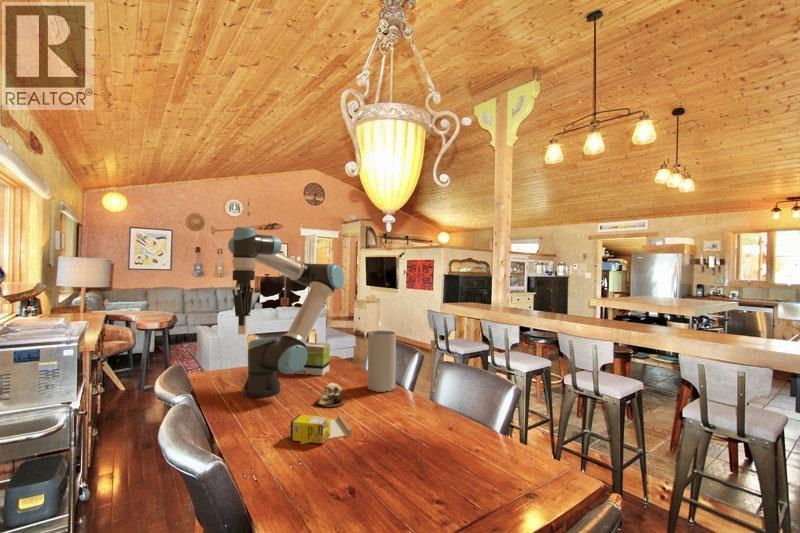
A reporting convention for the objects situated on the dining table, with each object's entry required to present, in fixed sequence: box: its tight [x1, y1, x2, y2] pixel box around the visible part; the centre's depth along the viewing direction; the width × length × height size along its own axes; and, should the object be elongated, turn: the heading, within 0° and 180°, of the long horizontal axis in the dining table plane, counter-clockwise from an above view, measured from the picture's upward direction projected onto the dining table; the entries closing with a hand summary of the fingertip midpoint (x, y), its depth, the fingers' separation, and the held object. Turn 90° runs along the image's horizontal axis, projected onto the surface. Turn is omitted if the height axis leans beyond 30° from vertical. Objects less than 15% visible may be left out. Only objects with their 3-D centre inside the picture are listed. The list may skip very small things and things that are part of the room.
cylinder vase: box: [367, 330, 397, 393], centre depth 172 cm, size 12×12×25 cm
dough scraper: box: [299, 414, 352, 445], centre depth 126 cm, size 16×14×2 cm
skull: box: [314, 382, 346, 408], centre depth 152 cm, size 12×10×10 cm
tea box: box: [296, 341, 331, 376], centre depth 195 cm, size 15×10×15 cm, turn 81°
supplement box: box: [290, 414, 331, 444], centre depth 119 cm, size 6×6×11 cm
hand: (242, 334), depth 139 cm, fingers closed
